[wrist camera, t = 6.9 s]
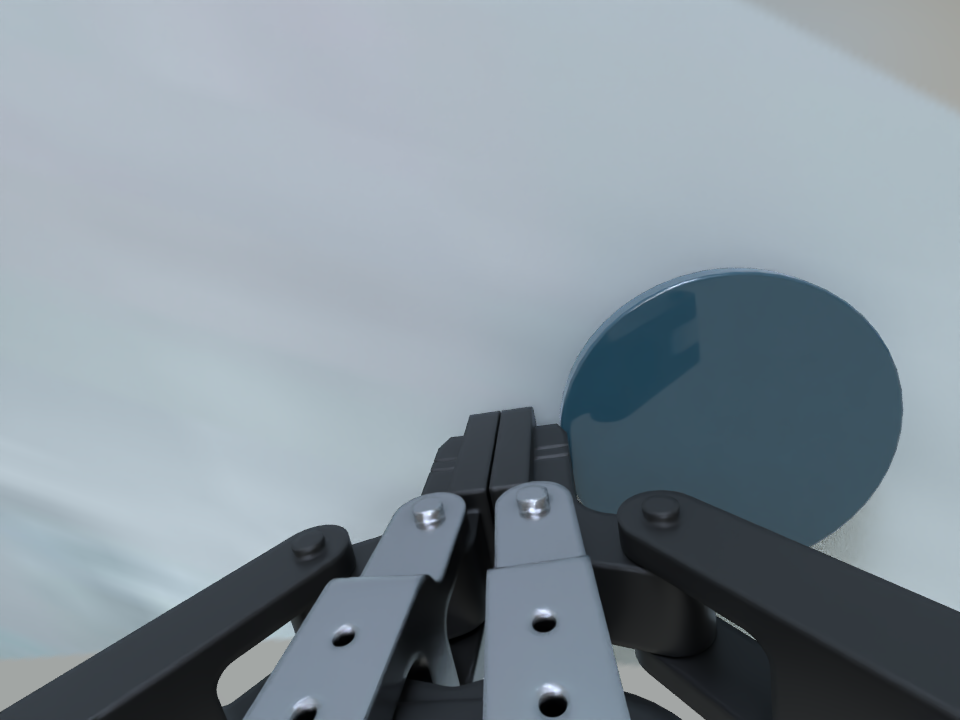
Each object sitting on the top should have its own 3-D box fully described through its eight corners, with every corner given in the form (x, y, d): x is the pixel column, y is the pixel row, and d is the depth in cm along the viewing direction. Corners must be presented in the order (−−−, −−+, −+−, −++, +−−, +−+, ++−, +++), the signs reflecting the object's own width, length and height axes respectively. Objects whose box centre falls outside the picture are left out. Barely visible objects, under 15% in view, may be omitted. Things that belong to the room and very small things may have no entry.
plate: (719, 193, 11) (738, 194, 10) (940, 405, 12) (980, 429, 11) (499, 418, 14) (495, 440, 12) (700, 585, 14) (713, 620, 13)
